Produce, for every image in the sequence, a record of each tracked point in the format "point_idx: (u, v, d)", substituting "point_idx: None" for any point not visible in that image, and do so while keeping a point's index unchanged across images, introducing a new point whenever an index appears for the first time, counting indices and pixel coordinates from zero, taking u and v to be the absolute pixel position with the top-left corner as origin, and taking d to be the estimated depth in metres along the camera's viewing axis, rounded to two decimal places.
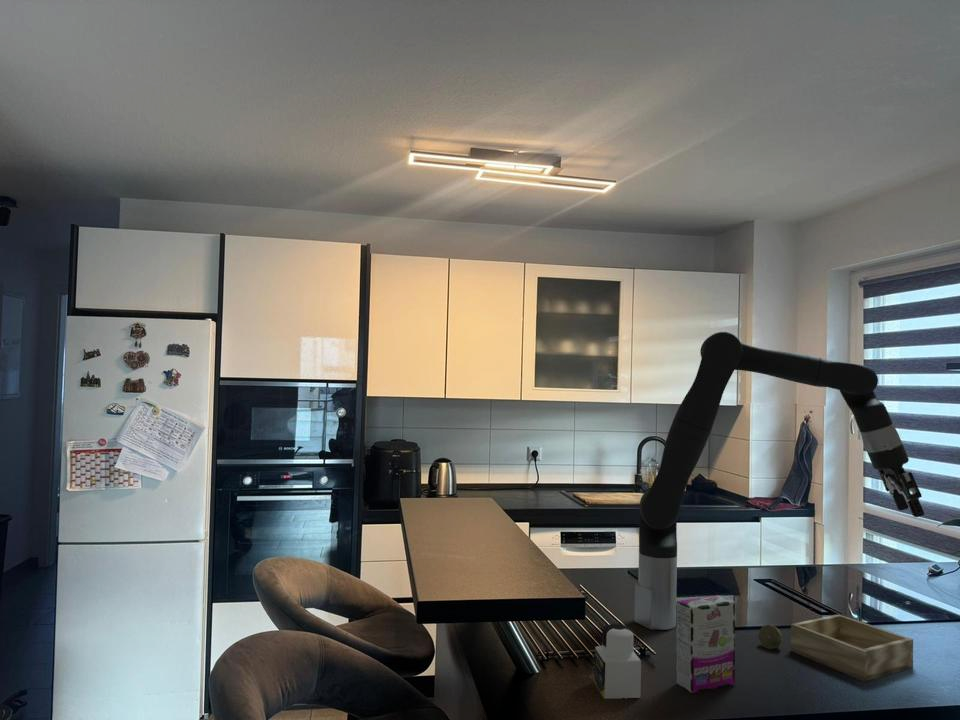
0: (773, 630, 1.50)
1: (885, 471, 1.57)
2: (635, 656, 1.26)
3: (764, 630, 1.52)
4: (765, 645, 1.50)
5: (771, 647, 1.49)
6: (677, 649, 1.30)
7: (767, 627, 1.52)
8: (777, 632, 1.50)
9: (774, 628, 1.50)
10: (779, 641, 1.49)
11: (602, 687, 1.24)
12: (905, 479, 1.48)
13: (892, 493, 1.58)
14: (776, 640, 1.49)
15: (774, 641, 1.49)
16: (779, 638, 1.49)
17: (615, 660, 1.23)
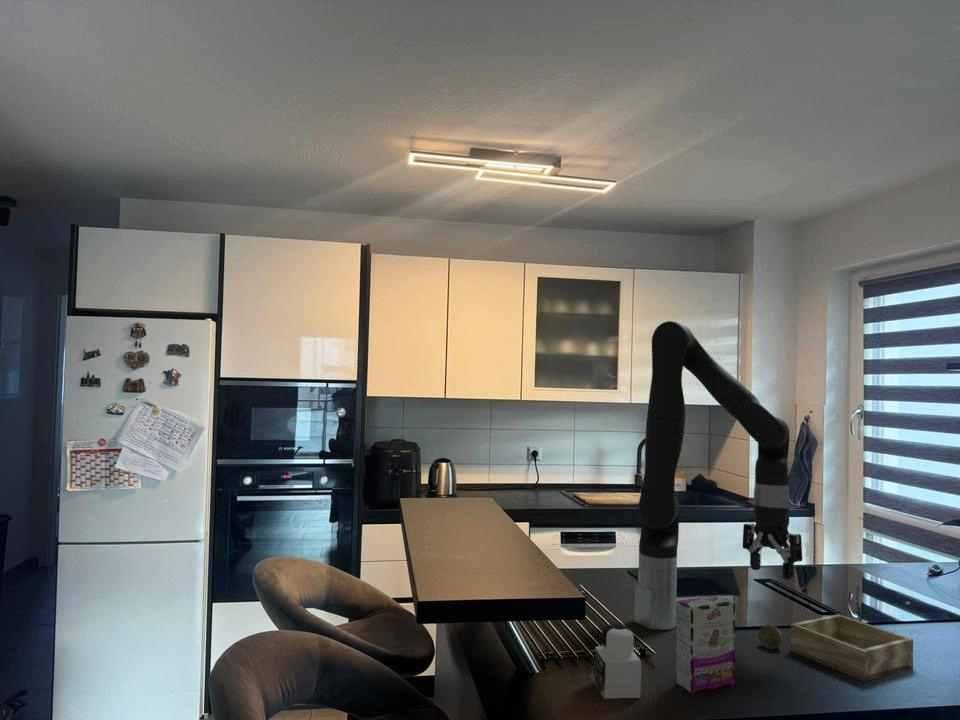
0: (773, 630, 1.50)
1: (759, 528, 1.54)
2: (635, 656, 1.26)
3: (764, 630, 1.52)
4: (765, 645, 1.50)
5: (771, 647, 1.49)
6: (677, 649, 1.30)
7: (767, 627, 1.52)
8: (777, 632, 1.50)
9: (774, 628, 1.50)
10: (779, 641, 1.49)
11: (602, 687, 1.24)
12: (796, 540, 1.46)
13: (753, 551, 1.55)
14: (776, 640, 1.49)
15: (774, 641, 1.49)
16: (779, 638, 1.49)
17: (615, 660, 1.23)
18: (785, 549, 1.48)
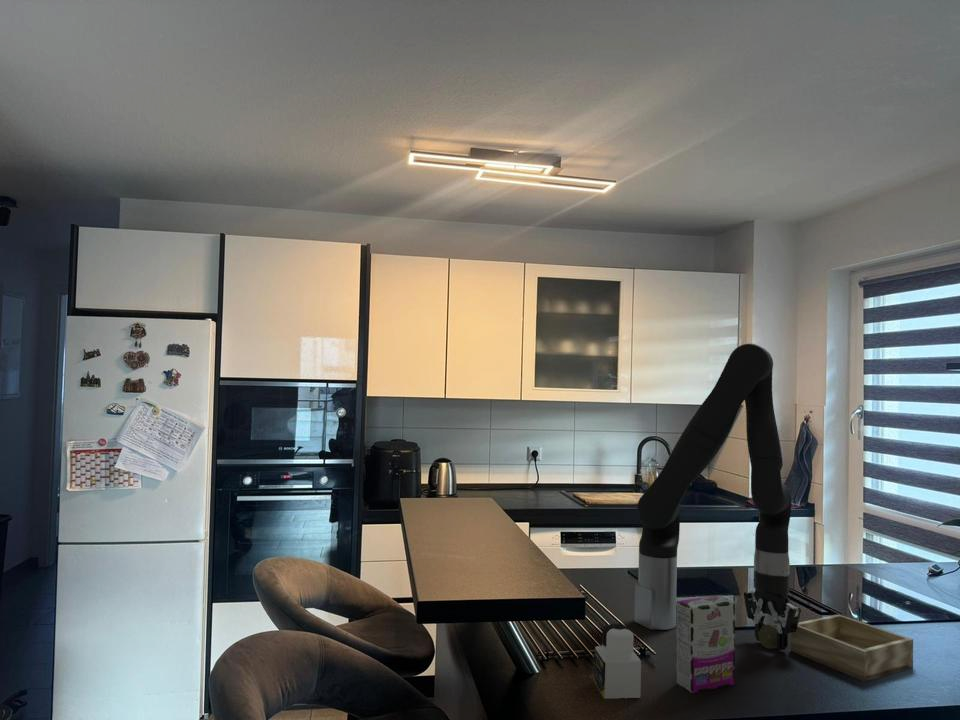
0: (773, 630, 1.50)
1: (758, 593, 1.53)
2: (635, 656, 1.26)
3: (764, 630, 1.52)
4: (765, 645, 1.50)
5: (771, 647, 1.49)
6: (677, 649, 1.30)
7: (767, 627, 1.52)
8: (777, 632, 1.50)
9: (774, 628, 1.50)
10: None
11: (602, 687, 1.24)
12: (794, 615, 1.45)
13: (758, 622, 1.53)
14: (776, 640, 1.49)
15: (774, 641, 1.49)
16: None
17: (615, 660, 1.23)
18: (782, 619, 1.48)
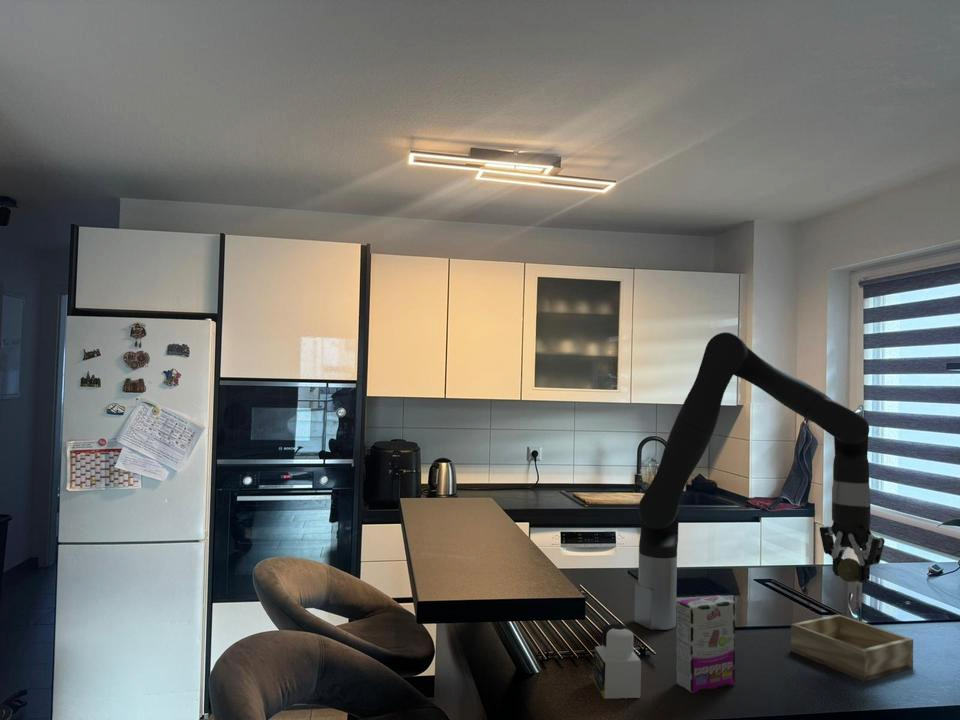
0: (853, 563, 1.46)
1: (837, 526, 1.48)
2: (635, 656, 1.26)
3: (843, 564, 1.47)
4: (845, 579, 1.46)
5: (852, 580, 1.45)
6: (677, 649, 1.30)
7: (846, 561, 1.47)
8: None
9: (854, 561, 1.46)
10: None
11: (602, 687, 1.24)
12: (878, 545, 1.40)
13: (836, 557, 1.48)
14: (857, 573, 1.44)
15: (855, 574, 1.45)
16: None
17: (615, 660, 1.23)
18: (863, 551, 1.44)
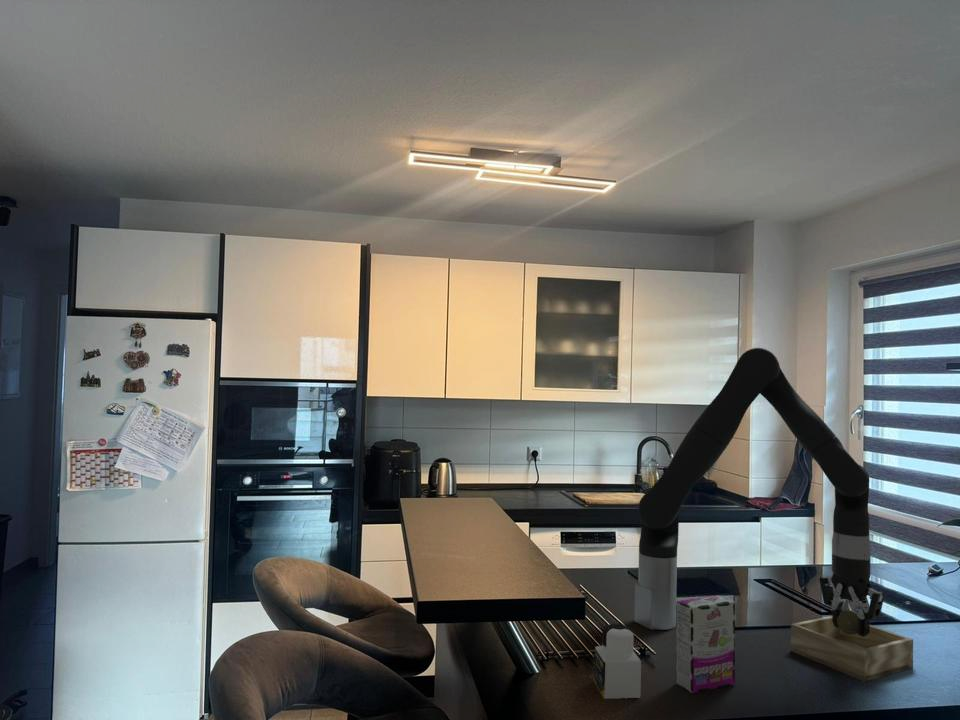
0: (853, 616, 1.45)
1: (837, 578, 1.48)
2: (635, 656, 1.26)
3: (843, 616, 1.47)
4: (845, 631, 1.45)
5: (852, 633, 1.44)
6: (677, 649, 1.30)
7: (846, 613, 1.46)
8: (858, 618, 1.45)
9: (854, 614, 1.45)
10: None
11: (602, 687, 1.24)
12: (878, 600, 1.40)
13: (836, 608, 1.48)
14: (857, 626, 1.44)
15: (855, 627, 1.44)
16: None
17: (615, 660, 1.23)
18: (863, 605, 1.43)
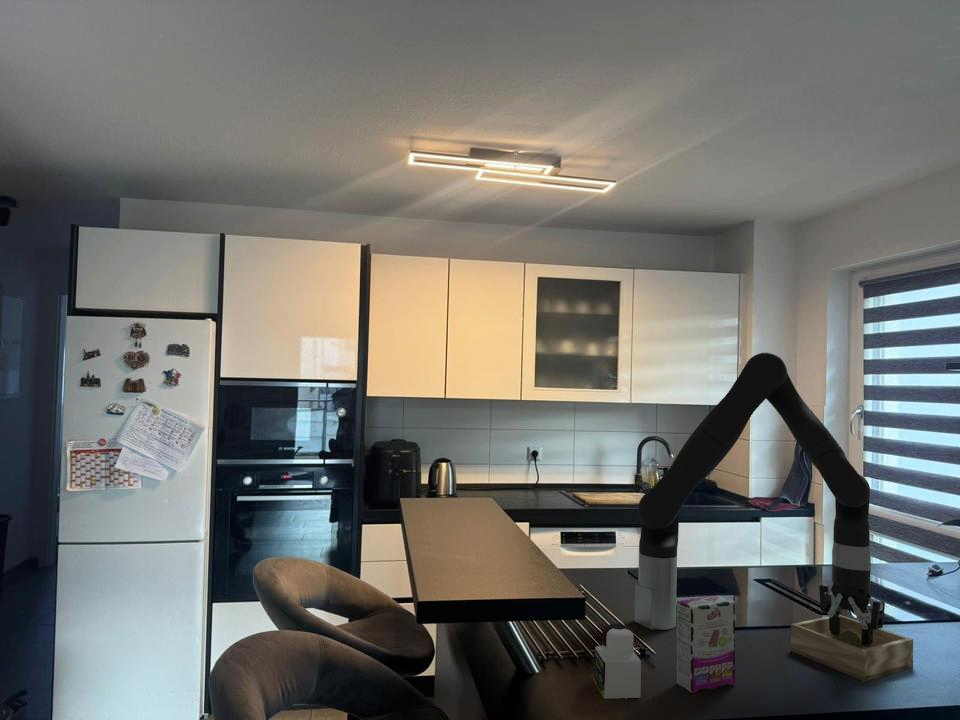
0: (854, 636, 1.45)
1: (837, 589, 1.48)
2: (635, 656, 1.26)
3: (843, 636, 1.46)
4: None
5: None
6: (677, 649, 1.30)
7: (847, 633, 1.46)
8: (858, 638, 1.44)
9: (855, 634, 1.45)
10: None
11: (602, 687, 1.24)
12: (879, 608, 1.40)
13: (833, 616, 1.48)
14: None
15: None
16: (860, 644, 1.44)
17: (615, 660, 1.23)
18: (865, 614, 1.43)
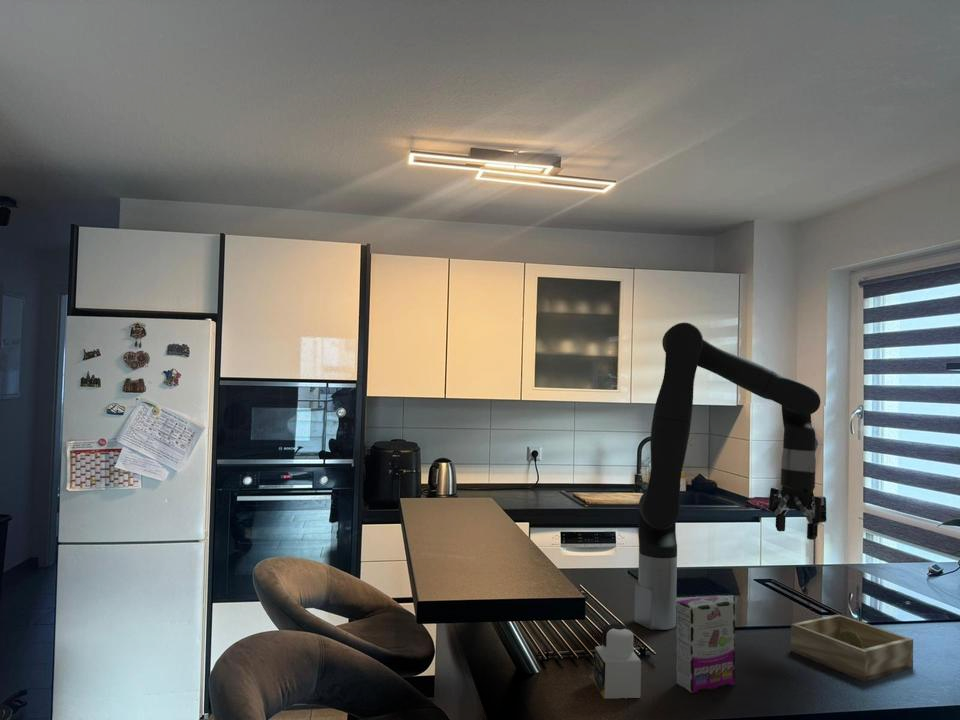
0: (853, 637, 1.45)
1: (785, 491, 1.62)
2: (635, 656, 1.26)
3: (843, 636, 1.46)
4: None
5: None
6: (677, 649, 1.30)
7: (846, 633, 1.46)
8: (857, 638, 1.44)
9: (854, 634, 1.45)
10: None
11: (602, 687, 1.24)
12: (821, 502, 1.54)
13: (779, 514, 1.63)
14: None
15: None
16: (860, 645, 1.44)
17: (615, 660, 1.23)
18: (810, 511, 1.56)
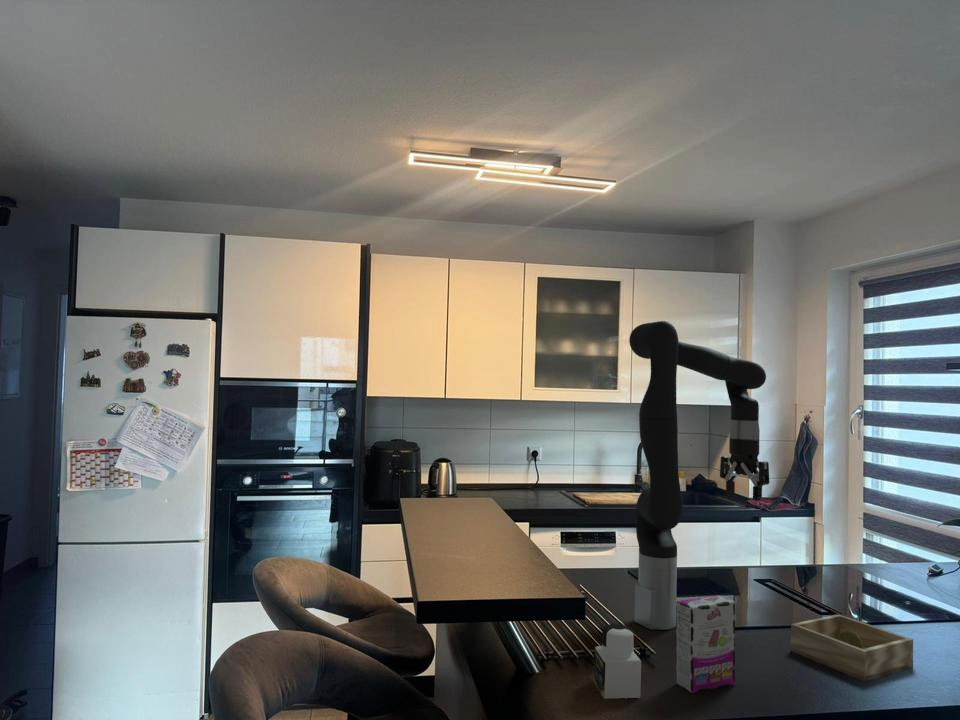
0: (853, 637, 1.45)
1: (734, 459, 1.78)
2: (635, 656, 1.26)
3: (843, 636, 1.46)
4: None
5: None
6: (677, 649, 1.30)
7: (846, 633, 1.46)
8: (857, 638, 1.44)
9: (854, 634, 1.45)
10: None
11: (602, 687, 1.24)
12: (764, 466, 1.70)
13: (728, 479, 1.80)
14: None
15: None
16: (860, 645, 1.44)
17: (615, 660, 1.23)
18: (755, 475, 1.73)
